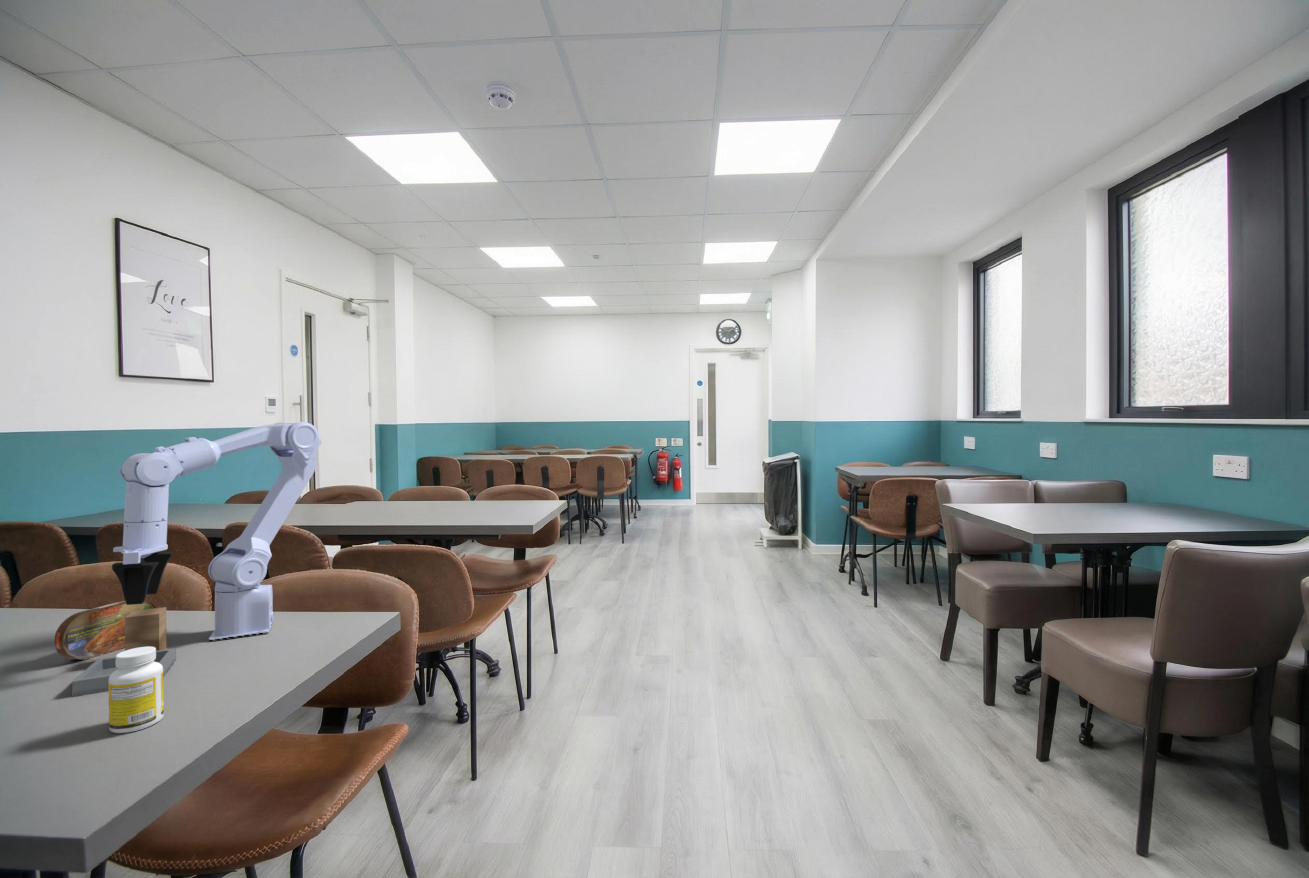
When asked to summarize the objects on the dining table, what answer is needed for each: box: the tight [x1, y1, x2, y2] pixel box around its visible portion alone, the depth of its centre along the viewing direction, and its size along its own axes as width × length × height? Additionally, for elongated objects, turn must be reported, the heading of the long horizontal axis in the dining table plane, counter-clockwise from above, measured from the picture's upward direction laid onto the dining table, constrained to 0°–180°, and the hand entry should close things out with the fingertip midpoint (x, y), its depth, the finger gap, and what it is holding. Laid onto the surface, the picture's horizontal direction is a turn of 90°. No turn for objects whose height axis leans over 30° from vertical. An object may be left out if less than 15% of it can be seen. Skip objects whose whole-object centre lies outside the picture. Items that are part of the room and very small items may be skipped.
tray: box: [71, 647, 177, 697], centre depth 90 cm, size 10×10×2 cm
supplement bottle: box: [108, 646, 165, 734], centre depth 75 cm, size 5×5×10 cm
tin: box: [54, 598, 157, 661], centre depth 102 cm, size 15×3×8 cm, turn 168°
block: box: [124, 606, 167, 651], centre depth 98 cm, size 4×4×8 cm
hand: (142, 598), depth 98 cm, fingers open, 7 cm apart
